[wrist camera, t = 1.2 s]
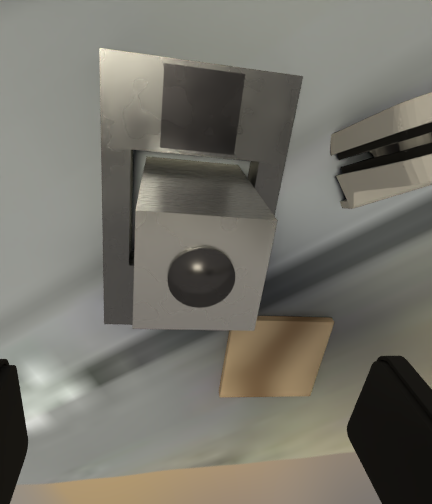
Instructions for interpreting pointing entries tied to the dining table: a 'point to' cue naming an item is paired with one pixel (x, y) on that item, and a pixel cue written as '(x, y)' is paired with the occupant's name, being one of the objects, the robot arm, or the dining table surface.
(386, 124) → the hinge
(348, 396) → the dining table surface
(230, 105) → the grey metal plate
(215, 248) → the metal cube with knob
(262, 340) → the coaster pad
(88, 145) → the dining table surface
